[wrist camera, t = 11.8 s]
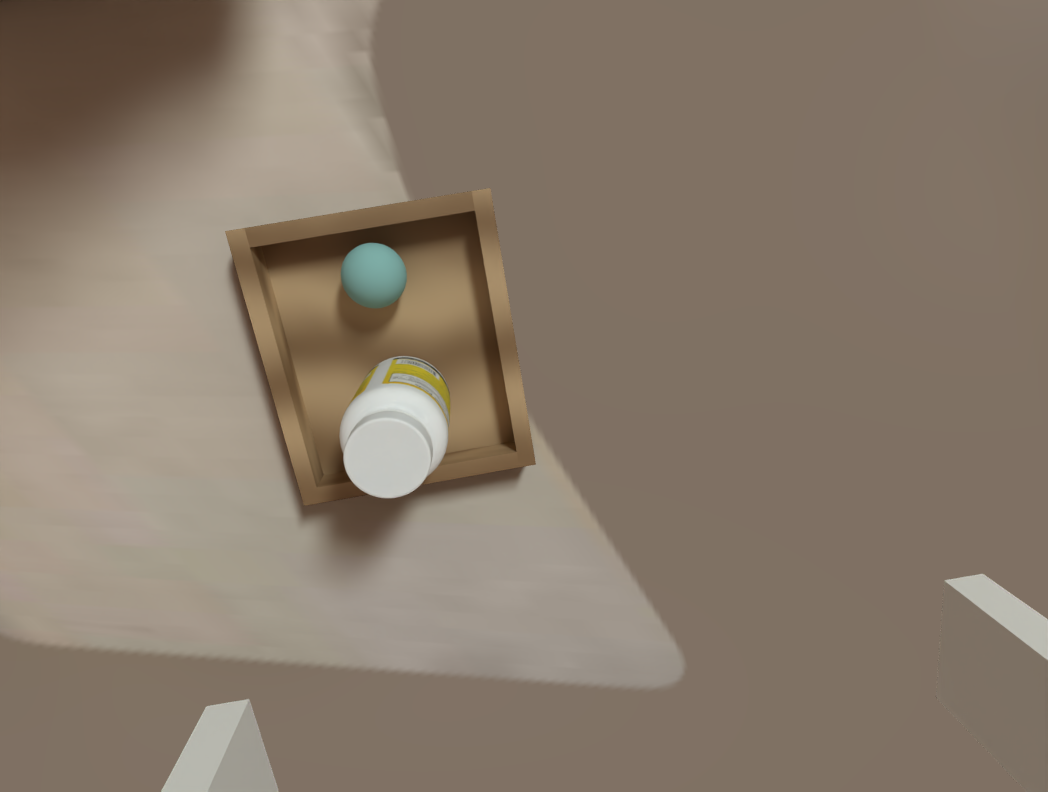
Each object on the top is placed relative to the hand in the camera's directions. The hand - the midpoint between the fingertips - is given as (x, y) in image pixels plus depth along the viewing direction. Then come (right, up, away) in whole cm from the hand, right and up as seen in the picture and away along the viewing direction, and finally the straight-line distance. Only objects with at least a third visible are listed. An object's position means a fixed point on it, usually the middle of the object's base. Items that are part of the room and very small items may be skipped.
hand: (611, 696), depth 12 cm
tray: (-9, +9, +26) cm, 29 cm away
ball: (-10, +13, +24) cm, 29 cm away
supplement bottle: (-9, +6, +26) cm, 28 cm away
